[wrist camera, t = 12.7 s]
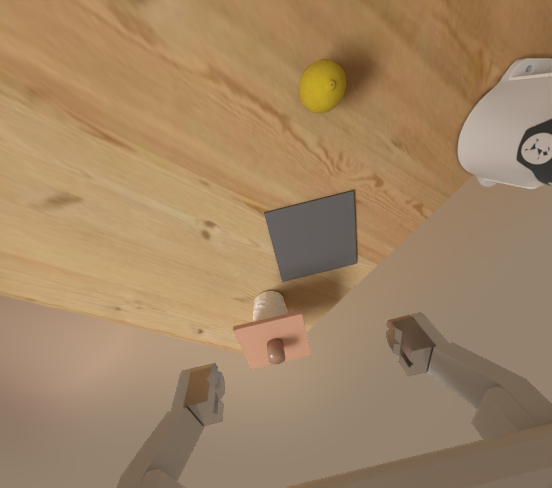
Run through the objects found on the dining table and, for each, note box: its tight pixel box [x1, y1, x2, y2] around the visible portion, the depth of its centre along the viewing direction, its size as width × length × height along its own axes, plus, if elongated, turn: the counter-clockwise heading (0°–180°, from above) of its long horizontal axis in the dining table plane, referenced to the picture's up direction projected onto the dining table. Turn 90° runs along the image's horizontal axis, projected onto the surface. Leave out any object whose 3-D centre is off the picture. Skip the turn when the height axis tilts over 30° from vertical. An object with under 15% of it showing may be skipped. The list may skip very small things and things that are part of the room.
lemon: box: [299, 59, 346, 113], centre depth 29 cm, size 6×6×8 cm
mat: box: [264, 190, 357, 282], centre depth 44 cm, size 16×16×1 cm
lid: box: [233, 310, 311, 369], centre depth 41 cm, size 12×12×4 cm
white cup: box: [253, 291, 288, 322], centre depth 47 cm, size 8×8×10 cm
